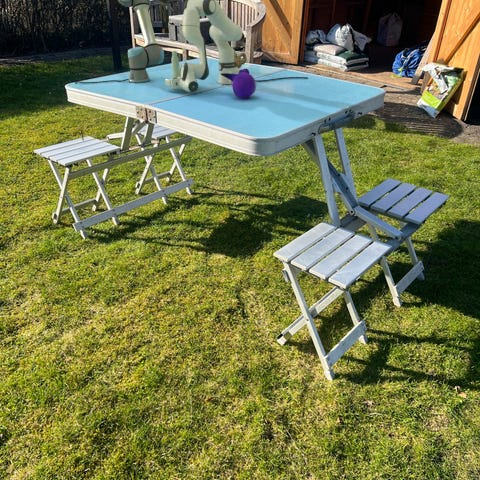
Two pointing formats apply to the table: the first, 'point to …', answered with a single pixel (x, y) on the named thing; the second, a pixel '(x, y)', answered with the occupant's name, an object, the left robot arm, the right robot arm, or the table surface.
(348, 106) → the table surface
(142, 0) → the left robot arm
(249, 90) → the toy
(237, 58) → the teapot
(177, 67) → the bottle
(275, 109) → the table surface
